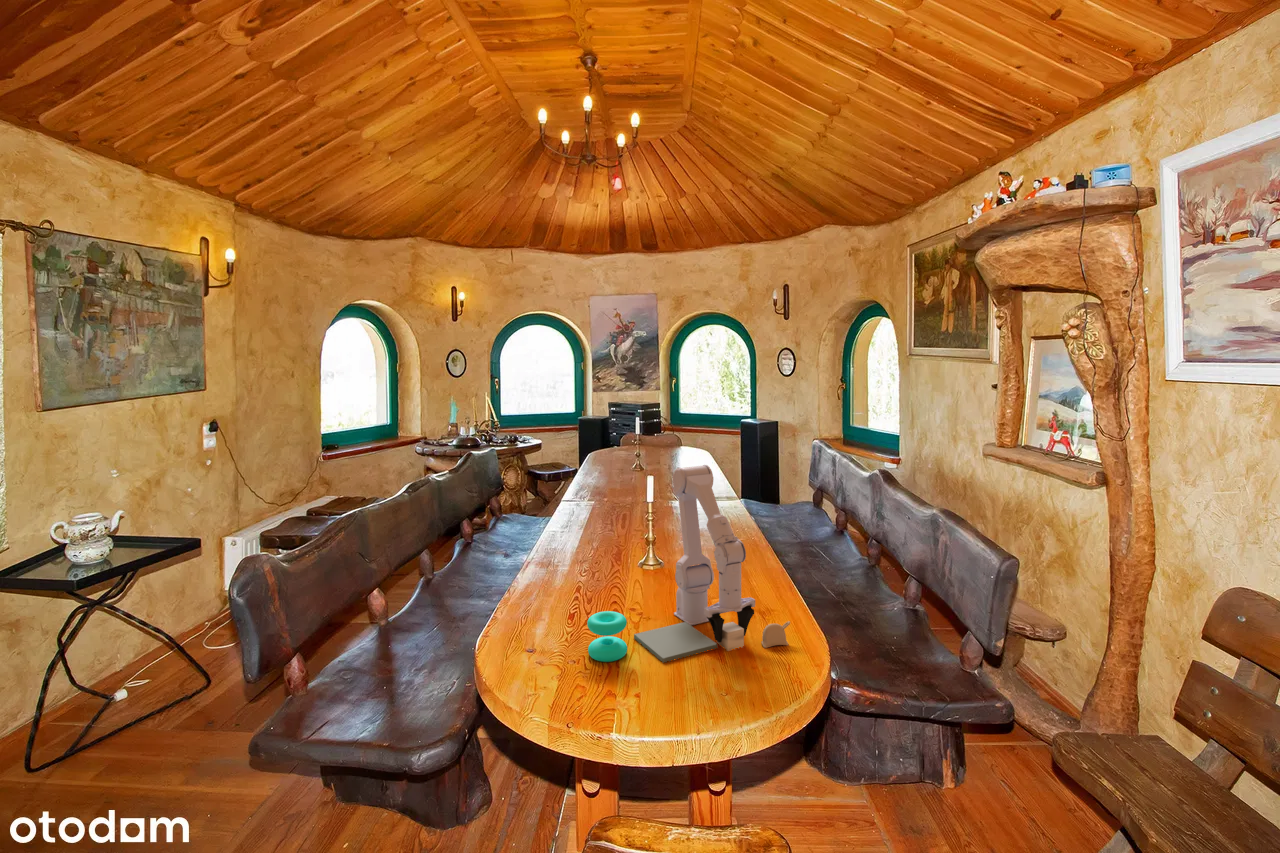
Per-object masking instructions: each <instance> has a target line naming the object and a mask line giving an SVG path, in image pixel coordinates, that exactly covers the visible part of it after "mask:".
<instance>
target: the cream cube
mask: <svg viewBox="0 0 1280 853" xmlns="http://www.w3.org/2000/svg"><path fill="white" fill-rule="evenodd" d="M716 643H718V644H719V645H718V644H717V645H718V646H720V645H721V646H722V647H721V646H720V647H721V648H723V647H724V648H725V649H726V650H725V649H724V648H723V649H724V650H725V651H727V652H730V651H732V649H734V650H736V649H735V648H738V649H740V648H739V647H741V648H744V647H745V636H744V628H742V627H740V626H739V625H738V623H736V622H734V621H729V622H726V623H723V629H722V642H718V641H716ZM743 646H744V647H743Z"/></svg>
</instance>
